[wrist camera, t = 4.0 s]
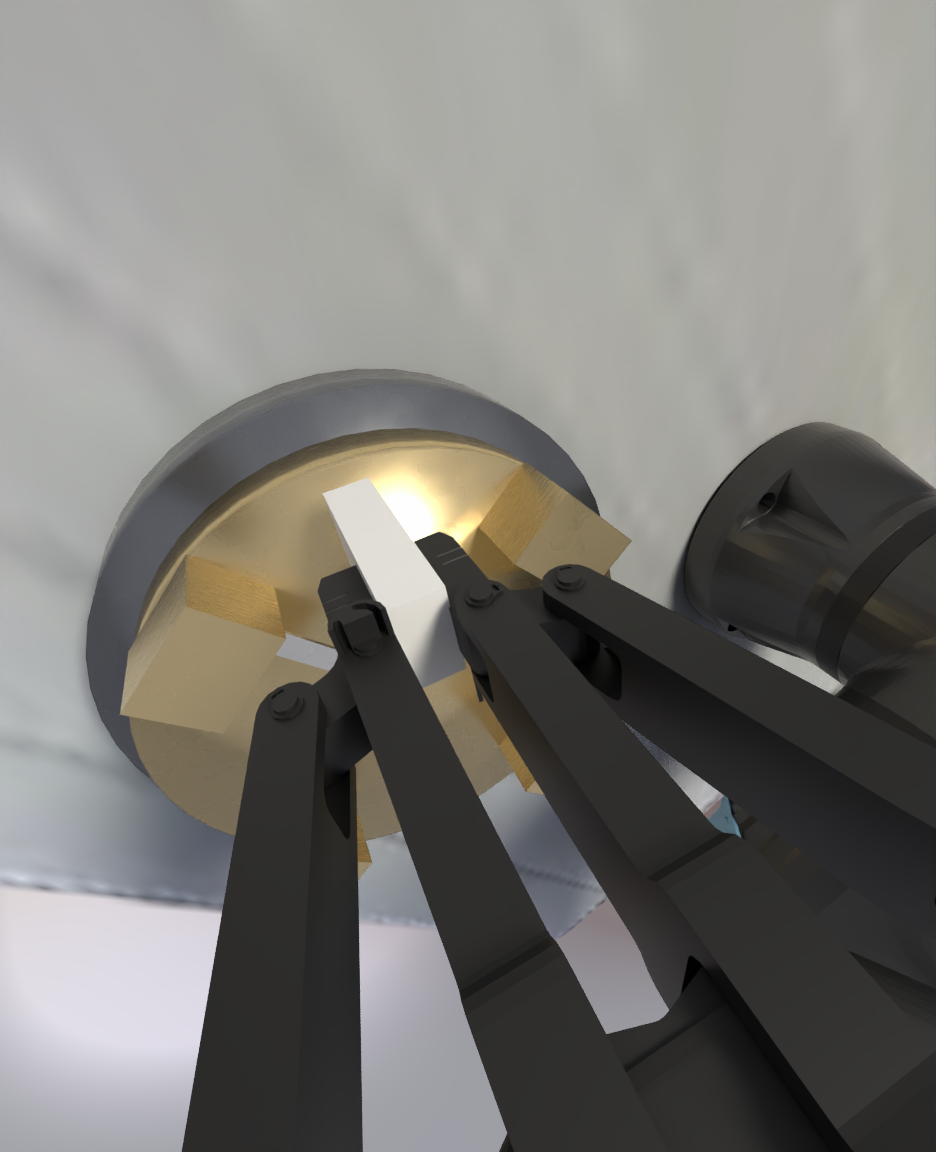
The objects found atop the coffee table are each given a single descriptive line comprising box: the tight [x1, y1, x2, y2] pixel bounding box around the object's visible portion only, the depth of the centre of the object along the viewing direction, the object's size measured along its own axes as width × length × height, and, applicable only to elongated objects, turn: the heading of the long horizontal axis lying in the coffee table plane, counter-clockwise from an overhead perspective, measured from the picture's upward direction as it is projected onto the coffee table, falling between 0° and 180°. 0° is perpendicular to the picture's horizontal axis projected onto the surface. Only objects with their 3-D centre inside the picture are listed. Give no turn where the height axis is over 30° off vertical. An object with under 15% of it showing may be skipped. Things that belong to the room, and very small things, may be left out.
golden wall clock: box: [120, 428, 632, 880], centre depth 24 cm, size 21×21×6 cm
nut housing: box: [86, 369, 600, 779], centre depth 27 cm, size 24×24×3 cm
